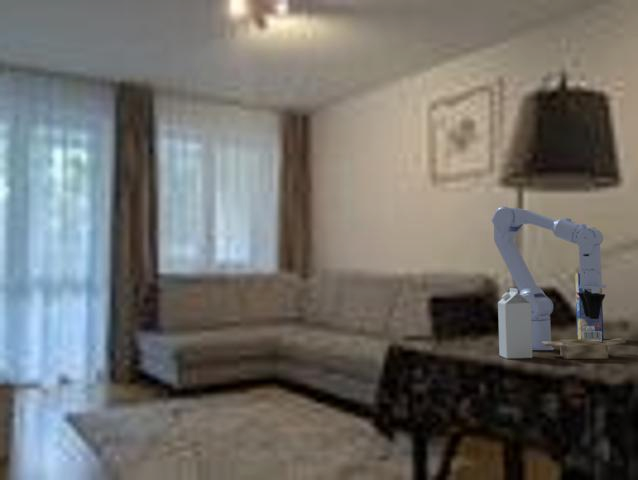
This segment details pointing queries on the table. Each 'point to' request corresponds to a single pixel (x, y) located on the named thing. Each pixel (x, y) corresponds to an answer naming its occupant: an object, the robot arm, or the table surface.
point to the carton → (579, 349)
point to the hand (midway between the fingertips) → (591, 317)
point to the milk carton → (514, 326)
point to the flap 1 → (587, 344)
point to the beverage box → (587, 318)
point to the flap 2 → (615, 341)
